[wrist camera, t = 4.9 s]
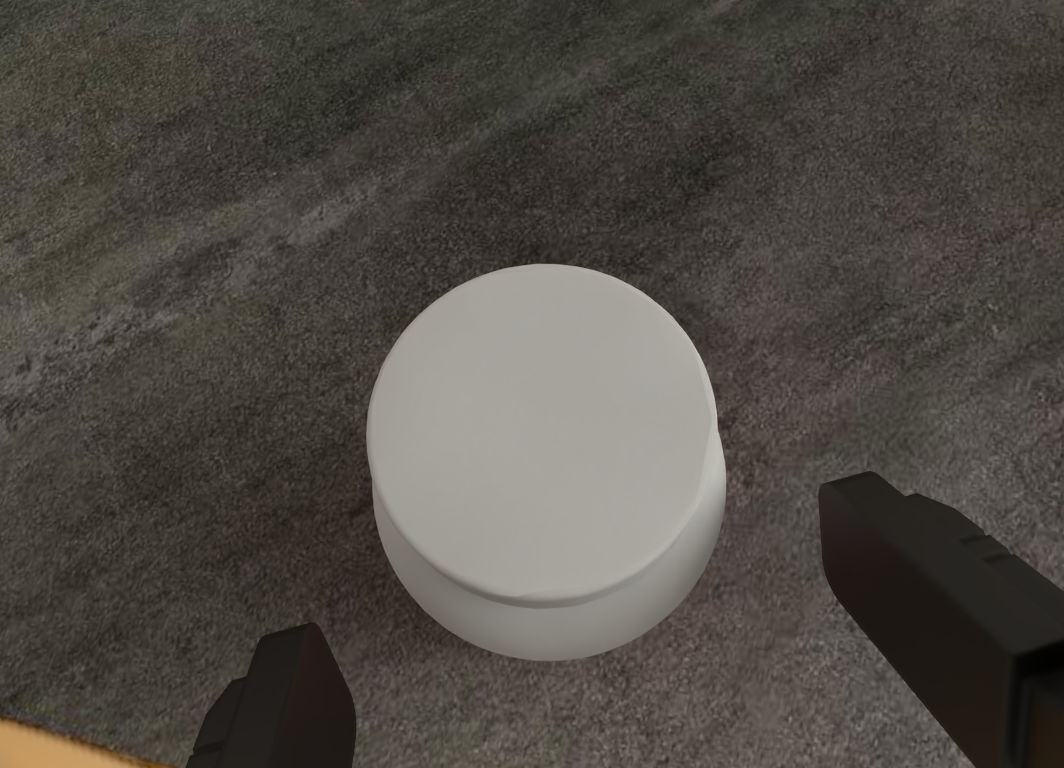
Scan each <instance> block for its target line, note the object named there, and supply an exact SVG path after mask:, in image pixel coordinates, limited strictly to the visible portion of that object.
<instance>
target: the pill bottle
mask: <svg viewBox="0 0 1064 768" xmlns="http://www.w3.org/2000/svg"><path fill="white" fill-rule="evenodd" d="M366 442H367V455H368V461H369V466H370V472H371V476H372V480H373V481H372V492H373V504H374V513H375V519H376V523H377V527H378V532H379V535H380V538H381V542H382V545H383V548H384V550H385V553H386V555H387V557H388V559H389V561H390V563H391V565H392V567H393V569H394V571H395V573H396V574H397V576H398V578H399V580H400V581H401V583H402V584H403V585H404V587H405V588H406V590H407V591H408V592H409V594H410V595H411V596H412V597H413V598H414V600H415V601H416V602H417V603H418V604H419V605H420V606H421V608H422V609H423V610H424V611H425V612H426V613H428V614H429V615H430V616H431V617H432V618H433V619H435V620H436V621H437V622H438V623H439V624H440V625H442V626H443V627H444V628H446V629H447V630H449V631H450V632H452V633H453V634H455V635H457V636H458V637H460V638H462V639H464V640H465V641H467V642H469V643H471V644H473V645H475V646H477V647H480V648H483V649H485V650H488V651H491V652H493V653H497V654H501V655H504V656H509V657H513V658H518V659H526V660H533V661H561V660H572V659H579V658H585V657H589V656H594V655H597V654H600V653H603V652H606V651H609V650H612V649H614V648H617V647H620V646H622V645H624V644H626V643H628V642H630V641H632V640H634V639H636V638H637V637H639V636H641V635H643V634H644V633H646V632H647V631H649V630H650V629H651V628H653V627H654V626H656V625H657V624H659V623H660V622H661V621H662V620H663V619H664V618H666V617H667V616H668V615H669V614H670V613H671V612H672V611H673V610H674V609H675V608H676V607H677V606H678V605H679V604H680V603H681V602H682V601H683V600H684V599H685V597H686V596H687V595H688V594H689V592H690V591H691V590H692V588H693V587H694V585H695V584H696V582H697V581H698V579H699V578H700V576H701V575H702V573H703V572H704V570H705V568H706V566H707V564H708V562H709V560H710V558H711V555H712V553H713V550H714V548H715V545H716V543H717V540H718V537H719V533H720V529H721V525H722V521H723V516H724V509H725V502H726V468H725V460H724V455H723V450H722V444H721V440H720V437H719V433H718V427H717V412H716V405H715V399H714V394H713V391H712V387H711V383H710V380H709V377H708V374H707V371H706V368H705V366H704V364H703V362H702V360H701V357H700V355H699V354H698V352H697V350H696V348H695V347H694V345H693V343H692V341H691V340H690V338H689V337H688V336H687V334H686V333H685V331H684V330H683V329H682V328H681V327H680V325H679V324H678V323H677V322H676V321H675V319H674V318H673V317H672V316H671V315H670V314H669V313H668V312H667V311H666V310H664V309H663V308H662V307H661V306H660V305H659V304H657V303H656V302H655V301H653V300H652V299H651V298H650V297H648V296H647V295H645V294H644V293H643V292H641V291H640V290H638V289H636V288H634V287H632V286H631V285H629V284H627V283H625V282H623V281H621V280H619V279H617V278H615V277H612V276H609V275H606V274H603V273H600V272H598V271H594V270H590V269H586V268H581V267H576V266H567V265H559V264H532V265H524V266H518V267H511V268H504V269H501V270H498V271H494V272H491V273H488V274H485V275H482V276H479V277H477V278H474V279H472V280H470V281H468V282H466V283H464V284H462V285H459V286H457V287H456V288H454V289H453V290H451V291H449V292H448V293H446V294H445V295H443V296H442V297H440V298H439V299H438V300H436V301H435V302H433V303H432V304H431V305H430V306H429V307H427V308H426V309H425V310H424V311H423V312H422V313H420V314H419V315H418V316H417V317H416V318H415V319H414V320H413V321H412V322H411V323H410V325H409V326H408V327H407V328H406V329H405V331H404V332H403V333H402V334H401V336H400V337H399V338H398V340H397V341H396V343H395V344H394V346H393V348H392V349H391V351H390V352H389V354H388V356H387V357H386V359H385V361H384V363H383V365H382V367H381V370H380V373H379V376H378V378H377V380H376V382H375V385H374V388H373V392H372V395H371V399H370V404H369V409H368V417H367V434H366Z"/></svg>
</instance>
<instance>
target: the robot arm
mask: <svg viewBox="0 0 1064 768" xmlns="http://www.w3.org/2000/svg"><path fill="white" fill-rule="evenodd" d="M818 495H819V513H820V529H821V545H822V560H823V566H824V571H825V574H826V577H827V580H828V582H829V585H830V587H831V589H832V591H833V593H834V594H835V596H836V598H837V599H838V601H839V602H840V603H841V605H842V606H843V607H844V608H845V609H846V611H847V612H848V613H849V614H850V615H851V617H852V618H853V619H854V620H855V622H856V623H857V624H858V625H859V626H860V628H861V629H862V630H863V631H864V632H865V634H866V635H867V636H868V637H869V639H870V640H871V641H872V642H873V643H874V645H875V646H876V647H877V648H878V649H879V651H880V652H881V653H882V654H883V656H884V657H885V658H886V659H887V660H888V662H889V663H890V664H891V665H892V666H893V668H894V669H895V670H896V671H897V673H898V674H899V675H900V676H901V677H902V679H903V680H904V681H905V682H906V683H907V685H908V686H909V687H910V688H911V690H912V691H913V692H914V693H915V694H916V696H917V697H918V698H919V699H920V700H921V702H922V703H923V704H924V705H925V707H926V708H927V709H928V710H929V711H930V713H931V714H932V715H933V716H934V717H935V719H936V720H937V721H938V722H939V724H940V725H941V726H942V727H943V728H944V730H945V731H946V732H947V733H948V734H949V736H950V737H951V738H952V739H953V741H954V742H955V743H956V744H957V745H958V747H959V748H960V749H961V750H962V751H963V753H964V754H965V755H966V756H967V758H968V759H969V760H970V761H971V762H972V764H973V765H974V766H975V767H976V768H1064V591H1062V590H1061V589H1060V588H1059V587H1057V586H1056V585H1055V584H1053V583H1052V582H1051V581H1049V580H1048V579H1047V578H1045V577H1044V576H1043V575H1041V574H1040V573H1039V572H1037V571H1036V570H1035V569H1034V568H1032V567H1031V566H1030V565H1028V564H1027V563H1026V562H1024V561H1023V560H1022V559H1020V558H1019V557H1018V556H1016V555H1015V554H1012V555H1011V554H1010V553H1009V551H1008V549H1007V548H1006V547H1005V546H1003V545H1002V544H1001V543H999V542H998V541H997V540H995V539H994V538H993V537H991V536H990V535H987V536H986V535H985V534H984V530H982V529H981V528H980V527H978V526H977V525H976V524H974V523H973V522H972V521H970V520H969V519H968V518H967V517H965V516H964V515H963V514H961V513H960V512H959V511H957V510H956V509H955V508H952V507H950V506H947V505H945V504H942V503H940V502H937V501H935V500H932V499H930V498H928V497H925V496H923V495H920V494H918V493H916V494H912V495H909V496H904V495H903V494H901V493H900V492H899V491H898V490H897V489H895V488H894V487H893V486H892V485H890V484H889V483H888V482H887V481H885V480H884V479H883V478H882V477H881V476H879V475H878V474H876V473H874V472H872V471H867V472H863V473H860V474H856V475H852V476H849V477H845V478H841V479H838V480H834V481H831V482H827V483H823V484H822V485H821V486H820V488H819V494H818ZM355 740H356V714H355V708H354V703H353V699H352V696H351V693H350V690H349V688H348V686H347V684H346V682H345V680H344V678H343V675H342V673H341V671H340V669H339V667H338V665H337V663H336V660H335V658H334V656H333V654H332V652H331V650H330V648H329V646H328V643H327V641H326V639H325V637H324V635H323V633H322V631H321V629H320V628H319V626H318V625H317V624H316V623H314V622H311V623H307V624H303V625H300V626H296V627H292V628H289V629H285V630H281V631H278V632H274V633H271V634H267V635H264V636H263V637H261V639H260V640H259V642H258V644H257V647H256V650H255V653H254V656H253V659H252V662H251V665H250V667H249V670H248V673H247V676H246V677H243V678H239V679H236V680H232V681H231V682H230V684H229V685H228V686H227V688H226V689H225V690H224V691H223V693H222V694H221V695H220V697H219V698H218V699H217V701H216V702H215V703H214V705H213V706H212V707H211V709H210V710H209V711H208V712H207V714H206V716H205V719H204V721H203V724H202V727H201V729H200V732H199V734H198V737H197V739H196V742H195V744H194V747H193V751H194V754H193V755H191V756H190V757H189V760H188V762H187V765H186V768H352V762H353V755H354V747H355Z"/></svg>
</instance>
